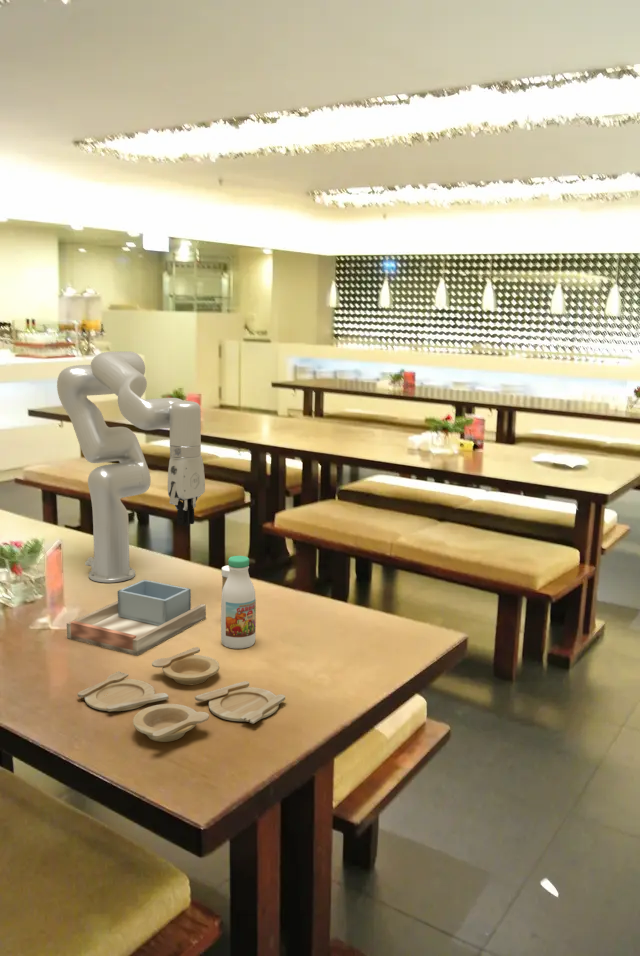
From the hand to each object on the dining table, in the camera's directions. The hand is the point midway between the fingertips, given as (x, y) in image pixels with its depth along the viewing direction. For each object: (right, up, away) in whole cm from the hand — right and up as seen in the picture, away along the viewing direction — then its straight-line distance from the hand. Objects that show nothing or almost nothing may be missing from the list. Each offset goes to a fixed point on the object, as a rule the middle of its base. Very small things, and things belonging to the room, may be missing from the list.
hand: (185, 523), depth 208 cm
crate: (-6, -22, -8) cm, 24 cm away
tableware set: (+7, -32, -49) cm, 59 cm away
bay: (-9, -24, -13) cm, 28 cm away
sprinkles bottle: (+12, -23, -6) cm, 27 cm away
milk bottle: (+15, -26, -20) cm, 36 cm away
